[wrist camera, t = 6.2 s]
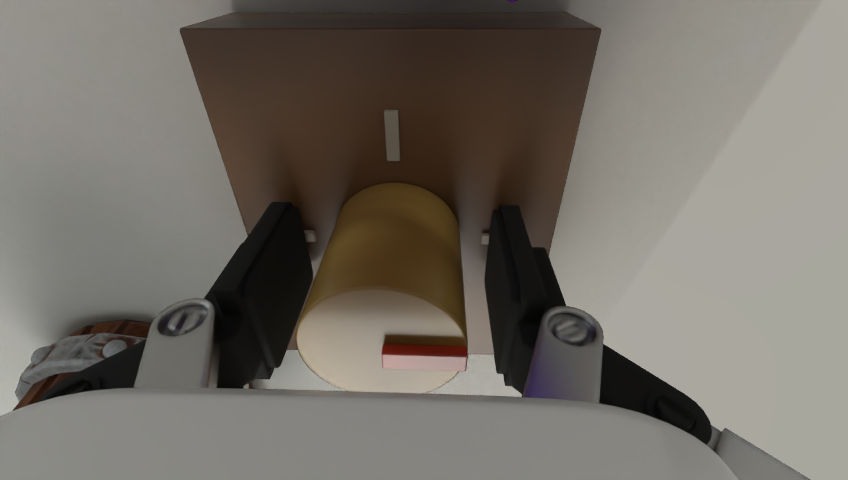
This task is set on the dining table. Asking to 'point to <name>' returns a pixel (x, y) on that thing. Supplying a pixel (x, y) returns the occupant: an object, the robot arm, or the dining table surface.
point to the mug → (76, 356)
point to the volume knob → (388, 295)
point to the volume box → (398, 117)
